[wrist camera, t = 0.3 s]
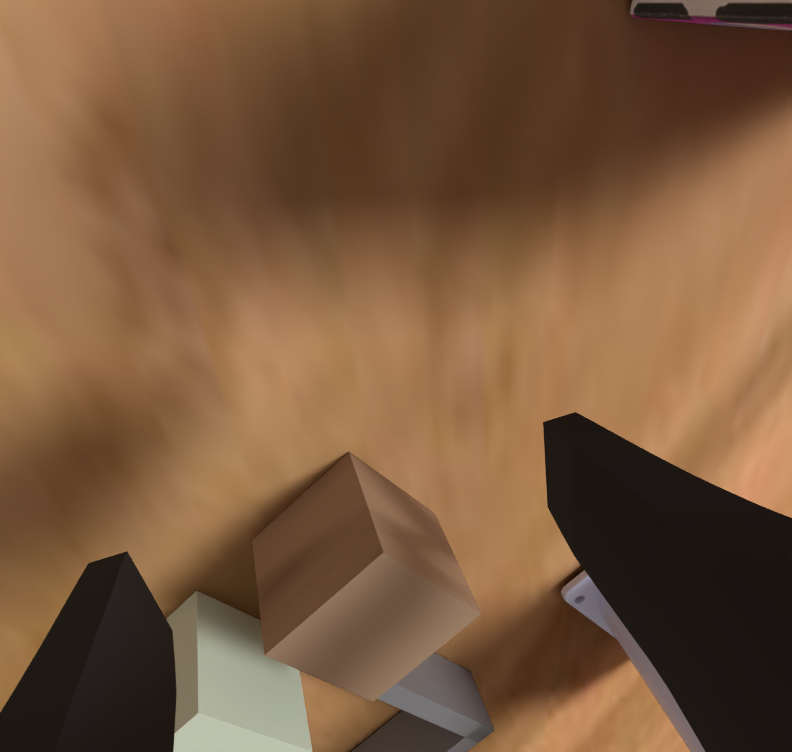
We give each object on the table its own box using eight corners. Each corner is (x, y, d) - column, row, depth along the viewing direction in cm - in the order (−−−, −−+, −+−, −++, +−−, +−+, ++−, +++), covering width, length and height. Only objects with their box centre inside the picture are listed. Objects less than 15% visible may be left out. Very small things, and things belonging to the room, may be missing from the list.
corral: (470, 671, 31) (494, 729, 29) (325, 786, 33) (337, 851, 31) (344, 604, 27) (360, 667, 24) (182, 743, 28) (182, 816, 26)
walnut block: (434, 512, 25) (481, 614, 21) (344, 590, 26) (373, 702, 22) (348, 449, 23) (383, 552, 19) (251, 538, 24) (264, 655, 19)
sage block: (293, 633, 27) (312, 751, 23) (212, 704, 28) (216, 829, 23) (196, 588, 24) (198, 712, 20) (110, 668, 25) (94, 802, 21)
